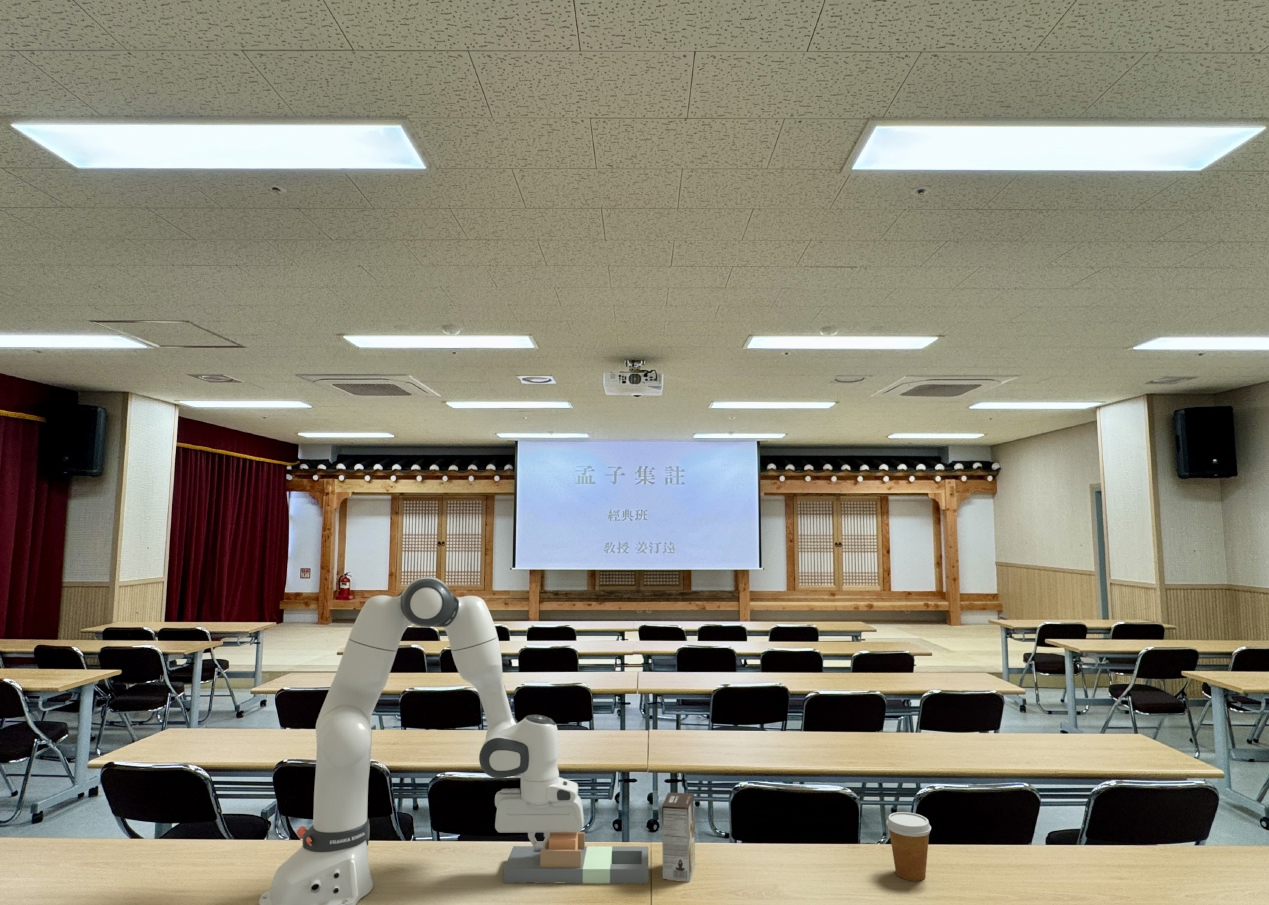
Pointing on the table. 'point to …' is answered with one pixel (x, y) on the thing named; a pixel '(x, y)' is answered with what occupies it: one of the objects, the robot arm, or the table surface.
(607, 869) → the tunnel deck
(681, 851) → the coffee box
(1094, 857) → the table surface
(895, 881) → the table surface
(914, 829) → the disposable coffee cup
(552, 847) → the block
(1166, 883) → the table surface
